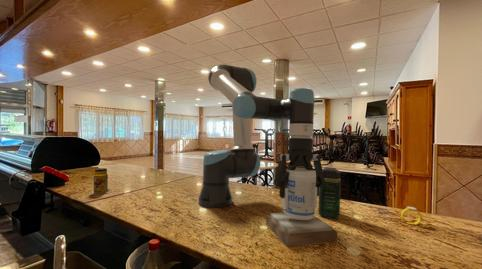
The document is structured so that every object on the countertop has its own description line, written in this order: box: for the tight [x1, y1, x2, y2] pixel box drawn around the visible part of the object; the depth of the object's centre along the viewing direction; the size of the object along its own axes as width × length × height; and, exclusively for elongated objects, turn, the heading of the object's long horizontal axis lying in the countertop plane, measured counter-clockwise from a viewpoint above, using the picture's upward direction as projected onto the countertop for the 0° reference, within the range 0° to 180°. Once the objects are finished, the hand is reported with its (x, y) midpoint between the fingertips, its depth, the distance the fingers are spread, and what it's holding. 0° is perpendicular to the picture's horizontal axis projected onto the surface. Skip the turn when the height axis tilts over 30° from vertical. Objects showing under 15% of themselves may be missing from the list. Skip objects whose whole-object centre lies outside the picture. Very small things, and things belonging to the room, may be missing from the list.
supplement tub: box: [283, 167, 316, 220], centre depth 70 cm, size 10×10×15 cm
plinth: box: [265, 212, 338, 248], centre depth 70 cm, size 16×16×4 cm
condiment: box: [91, 167, 110, 196], centre depth 112 cm, size 7×8×12 cm
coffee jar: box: [317, 166, 342, 219], centre depth 87 cm, size 10×8×19 cm
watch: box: [400, 206, 423, 226], centre depth 79 cm, size 6×3×6 cm, turn 75°
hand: (299, 207), depth 70 cm, fingers closed on supplement tub, 10 cm apart
